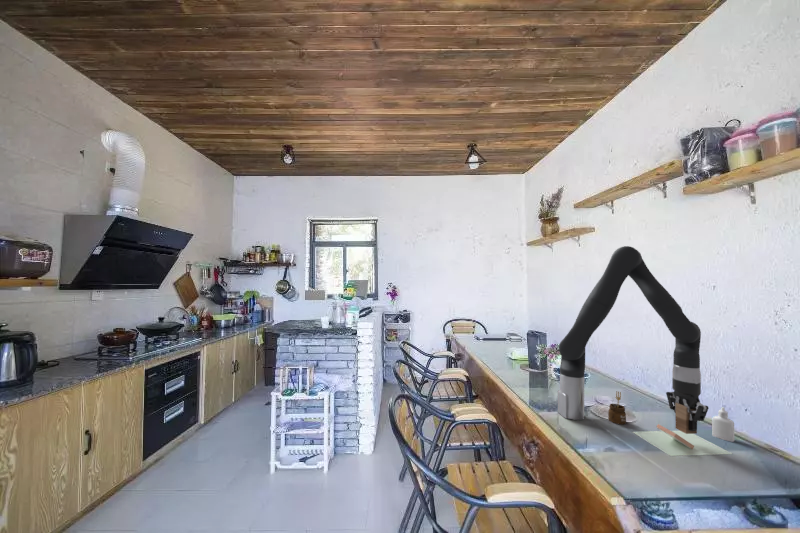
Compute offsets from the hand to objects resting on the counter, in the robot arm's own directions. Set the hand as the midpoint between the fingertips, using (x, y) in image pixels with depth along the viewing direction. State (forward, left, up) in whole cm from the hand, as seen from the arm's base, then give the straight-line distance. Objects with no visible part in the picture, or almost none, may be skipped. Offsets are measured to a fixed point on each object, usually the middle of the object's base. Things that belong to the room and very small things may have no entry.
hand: (686, 427), depth 115 cm
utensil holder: (-12, +18, -7) cm, 22 cm away
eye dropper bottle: (+17, +3, -7) cm, 19 cm away
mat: (-2, +1, -7) cm, 7 cm away
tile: (-1, 0, -5) cm, 5 cm away
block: (0, 0, -1) cm, 1 cm away
